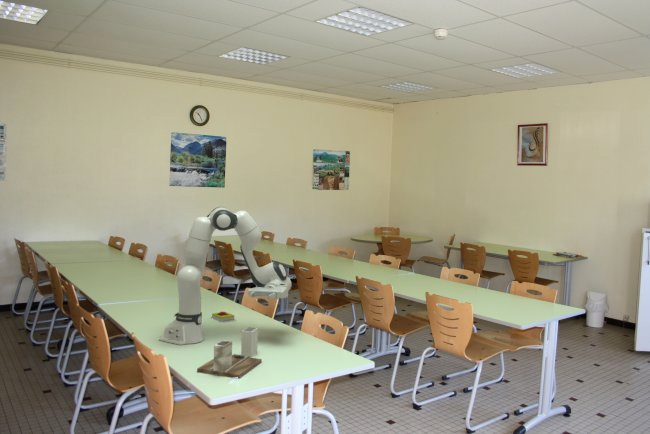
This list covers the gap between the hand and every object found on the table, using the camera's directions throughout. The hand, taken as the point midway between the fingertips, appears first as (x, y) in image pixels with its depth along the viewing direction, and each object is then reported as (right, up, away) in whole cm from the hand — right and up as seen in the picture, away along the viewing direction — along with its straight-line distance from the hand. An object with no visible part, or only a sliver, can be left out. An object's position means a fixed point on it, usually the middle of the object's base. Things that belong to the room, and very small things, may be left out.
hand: (260, 296), depth 264 cm
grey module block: (-4, -26, -9) cm, 28 cm away
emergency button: (-28, -22, +55) cm, 66 cm away
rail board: (-10, -27, -27) cm, 40 cm away
